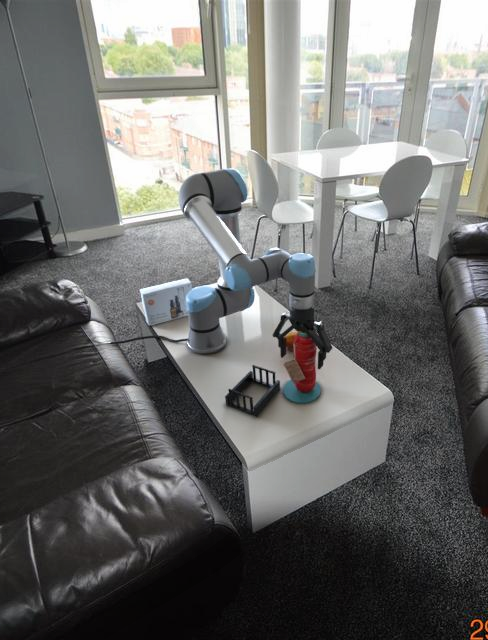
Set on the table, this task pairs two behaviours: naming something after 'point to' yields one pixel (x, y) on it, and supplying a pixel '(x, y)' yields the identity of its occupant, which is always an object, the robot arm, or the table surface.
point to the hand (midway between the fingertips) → (301, 361)
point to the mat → (300, 393)
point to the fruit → (290, 339)
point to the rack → (259, 405)
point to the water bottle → (303, 363)
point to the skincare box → (165, 301)
